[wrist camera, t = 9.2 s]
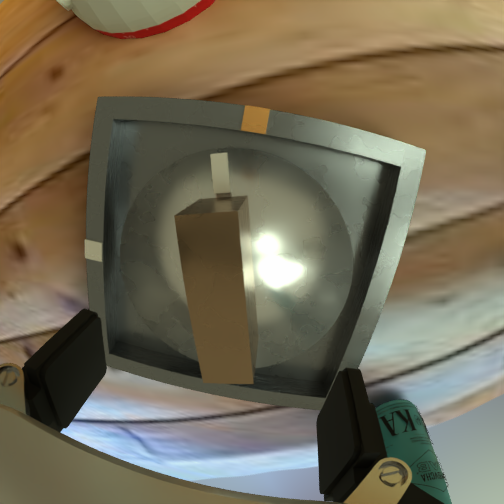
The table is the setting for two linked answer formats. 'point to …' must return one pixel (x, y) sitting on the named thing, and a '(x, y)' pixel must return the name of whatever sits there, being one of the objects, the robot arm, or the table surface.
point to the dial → (236, 260)
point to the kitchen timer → (135, 15)
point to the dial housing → (278, 144)
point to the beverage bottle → (412, 446)
